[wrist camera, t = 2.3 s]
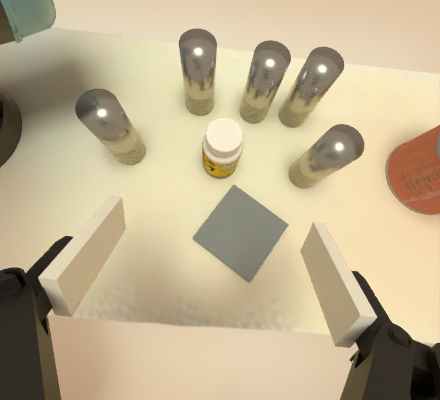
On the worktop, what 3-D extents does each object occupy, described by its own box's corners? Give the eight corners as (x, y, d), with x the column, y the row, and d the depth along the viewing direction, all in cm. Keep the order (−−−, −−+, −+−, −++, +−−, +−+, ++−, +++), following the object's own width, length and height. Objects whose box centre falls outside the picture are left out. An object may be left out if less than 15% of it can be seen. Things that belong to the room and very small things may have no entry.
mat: (192, 238, 29) (192, 238, 28) (233, 186, 31) (233, 184, 30) (248, 281, 29) (249, 282, 28) (286, 225, 30) (288, 224, 30)
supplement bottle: (197, 154, 32) (194, 122, 24) (227, 143, 32) (235, 107, 24) (211, 184, 31) (213, 161, 23) (241, 172, 32) (254, 145, 23)
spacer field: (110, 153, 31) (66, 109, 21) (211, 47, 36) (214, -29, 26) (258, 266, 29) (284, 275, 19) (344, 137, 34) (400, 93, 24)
